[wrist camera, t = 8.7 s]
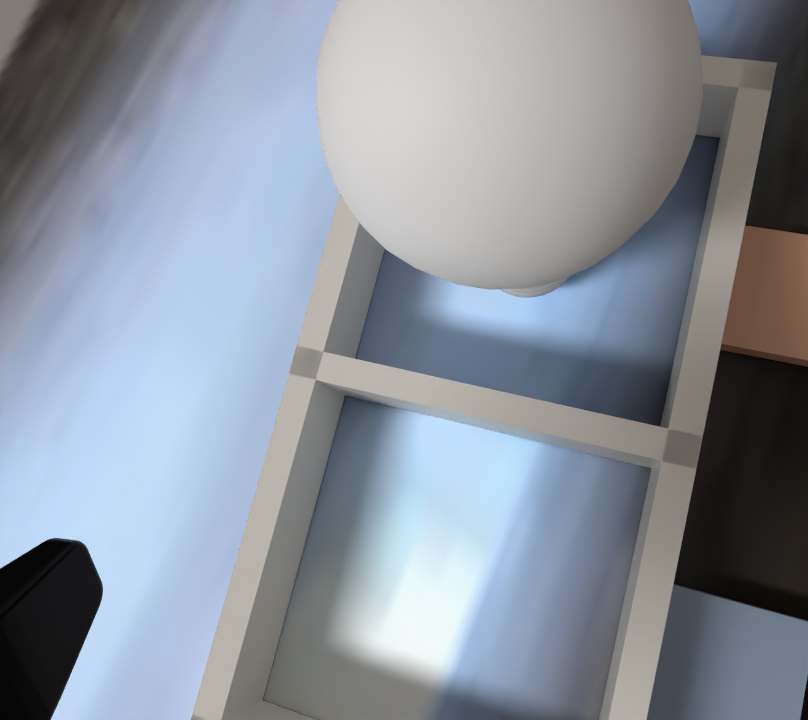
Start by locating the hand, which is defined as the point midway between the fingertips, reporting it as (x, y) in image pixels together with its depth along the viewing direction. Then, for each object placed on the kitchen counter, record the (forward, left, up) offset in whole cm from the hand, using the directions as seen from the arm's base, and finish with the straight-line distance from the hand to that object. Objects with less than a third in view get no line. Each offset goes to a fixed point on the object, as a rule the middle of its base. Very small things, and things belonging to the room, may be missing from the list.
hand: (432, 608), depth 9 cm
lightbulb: (+8, +1, -11) cm, 13 cm away
